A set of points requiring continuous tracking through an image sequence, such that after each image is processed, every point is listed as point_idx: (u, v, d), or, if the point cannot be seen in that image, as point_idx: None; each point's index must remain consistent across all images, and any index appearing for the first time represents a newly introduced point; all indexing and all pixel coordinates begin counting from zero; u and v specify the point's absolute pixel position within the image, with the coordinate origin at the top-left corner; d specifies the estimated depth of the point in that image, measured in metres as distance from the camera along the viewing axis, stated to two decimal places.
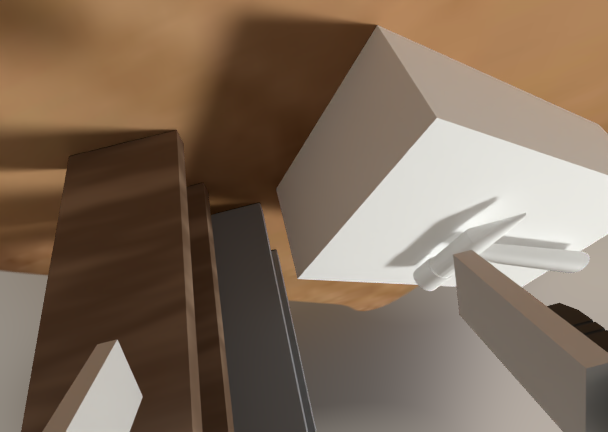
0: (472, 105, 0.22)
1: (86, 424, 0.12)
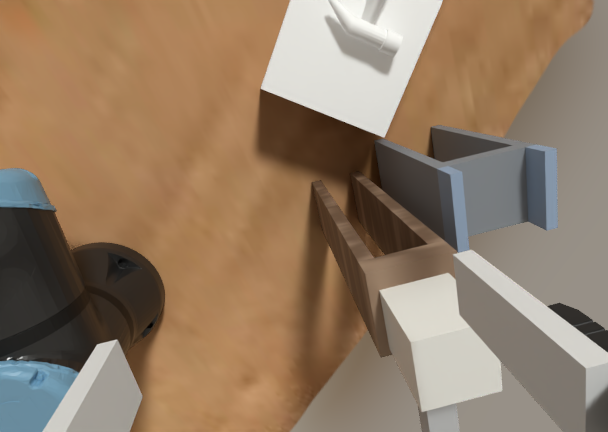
0: None
1: (86, 424, 0.12)
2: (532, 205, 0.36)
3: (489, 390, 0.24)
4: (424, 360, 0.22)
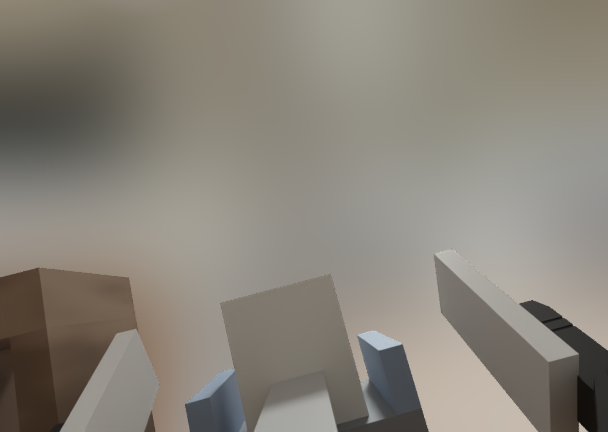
0: None
1: (110, 408, 0.12)
2: (383, 386, 0.18)
3: (313, 278, 0.18)
4: None
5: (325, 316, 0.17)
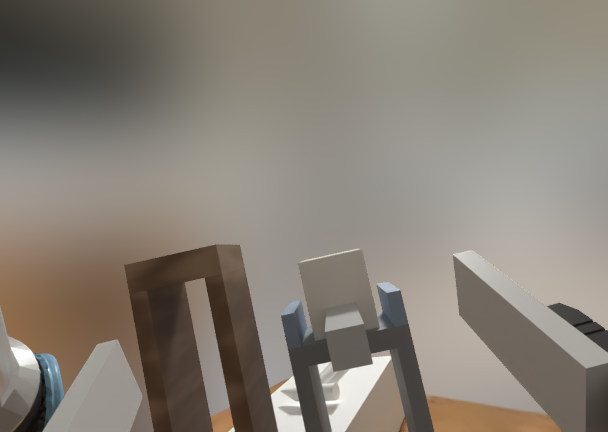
0: None
1: (86, 424, 0.12)
2: (389, 313, 0.31)
3: (351, 251, 0.31)
4: None
5: (357, 272, 0.31)
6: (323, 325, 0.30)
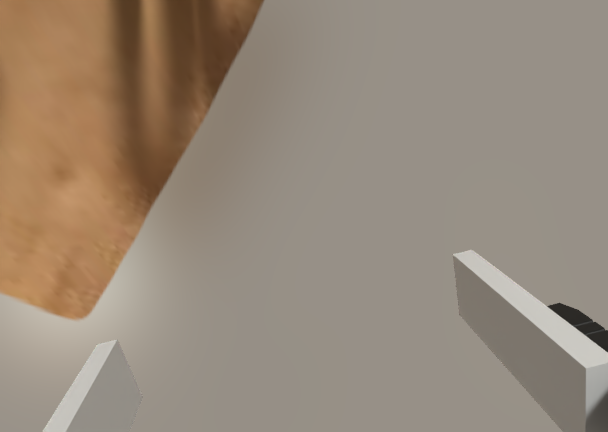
0: None
1: (86, 424, 0.12)
2: None
3: None
4: None
5: None
6: None
